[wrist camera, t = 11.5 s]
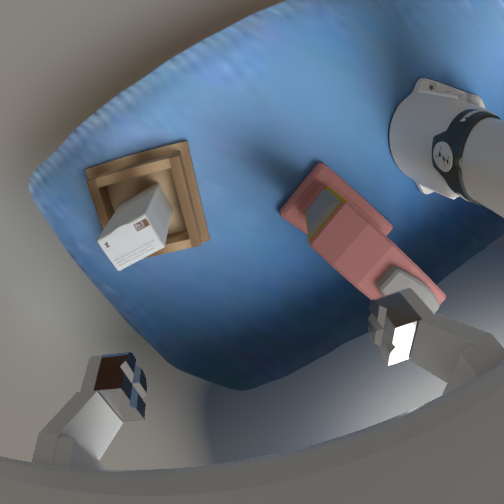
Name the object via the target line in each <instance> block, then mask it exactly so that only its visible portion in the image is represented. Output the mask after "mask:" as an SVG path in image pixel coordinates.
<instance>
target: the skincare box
mask: <svg viewBox="0 0 504 504" xmlns="http://www.w3.org/2000/svg"><path fill="white" fill-rule="evenodd" d="M172 210H173V208H172V206H171V205H170V203H169V201H168V199H167V197H166V196H165V194H164V192H163V190H162V188H161V186H160V184H159V183H156V184H154V185H153V186H151V187H149V188H147V189H145V190H143V191H141V192H140V193H138V194H136V195H134V196H132V197H131V198H129V199H127V200H125V201H123V202H122V203H121V204H120V205H119V207H118V208H117V210H116V211H115V213H114V214H113V216H112V217H111V219H110V220H109V222H108V224H107V225H106V227H105V228H104V230H103V231H102V233H101V234H100V236H99V237H98V239H97V242H98V243H99V245H100V246H101V248H102V249H103V251H104V252H105V254H106V255H107V256H108V258H109V259H110V261H111V262H112V263H113V265H114V266H115V267H116V269H117V270H118V271H120V270H122V269H124V268H126V267H128V266H129V265H131V264H133V263H135V262H137V261H139V260H141V259H143V258H145V257H147V256H148V255H150V254H152V253H154V252H156V251H158V250H160V249H162V248H164V247H165V243H166V238H167V233H168V229H169V224H170V219H171V215H172Z"/></svg>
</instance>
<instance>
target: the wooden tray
mask: <svg viewBox="0 0 504 504" xmlns="http://www.w3.org/2000/svg"><path fill="white" fill-rule="evenodd" d="M85 171H86V175H87V178H88V181H87V184H88V187H89V190H90V193H91V196H92V199H93V202H94V205H95V208H96V211H97V214H98V217H99V220H100V222H101V225H102V228H103V230H104V228H105V227H106V225H107V224H108V222H109V220H110V219H111V217H112V216H113V214H114V213H115V211H116V210H117V208H118V207H119V205H120V204H121V203H122V202H123V201H125V200H127V199H129V198H131V197H132V196H134V195H136V194H138V193H140V192H141V191H143V190H145V189H147V188H149V187H151V186H153V185H154V184H156V183H159V184H160V186H161V188H162V190H163V192H164V194H165V196H166V197H167V199H168V201H169V203H170V205H171V206H172V208H173V210H172V215H171V219H170V224H169V229H168V233H167V238H166V243H165V247H164V248H162V249H160V250H158V251H156V252H154V253H152V254H150V255H148V256H147V257H151V256H156V255H160V254H164V253H169V252H173V251H178V250H183V249H187V248H192V247H196V246H201V242H205V241H210V236H209V232H208V228H207V224H206V220H205V216H204V211H203V207H202V203H201V199H200V195H199V190H198V186H197V182H196V177H195V173H194V168H193V164H192V159H191V155H190V150H189V146H188V141H182V142H178V143H174V144H170V145H166V146H162V147H158V148H154V149H151V150H147V151H143V152H140V153H136V154H132V155H129V156H125V157H122V158H119V159H115V160H112V161H109V162H106V163H102V164H99V165H96V166H93V167H90V168H87V169H86V170H85ZM147 257H145V258H147Z"/></svg>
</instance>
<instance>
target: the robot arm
mask: <svg viewBox="0 0 504 504" xmlns="http://www.w3.org/2000/svg"><path fill="white" fill-rule="evenodd" d="M430 86H431V89H430ZM389 141H390V149H391V153H392V156H393V159H394V161H395V163H396V165H397V166H398V168H399V169H400V170H401V171H402V172H403V173H404V174H405V175H406V176H408V177H409V178H411V179H412V180H413V181H414V182H415V184H416V186H417V187H418V189H419V190H420V192H422V193H424V194H430V193H432V192H434V191H435V192H437V193H439V194H441V195H444V196H446V197H448V198H450V199H455V198H456V197H461V198H463V199H465V200H467V201H469V202H472V203H475V204H482V205H484V206H485V207H487V208H489V209H490V210H492V211H494V212H495V213H497V214H498V215H500V216H502V217H503V218H504V120H501V119H500V118H499V117H498V116H496V115H495V114H494V112H492V111H489V110H487V109H485V105H484V103H483V101H482V99H481V98H480V96H478V95H475V94H470V93H466V92H464V91H461V90H459V89H456V88H453V87H450V86H448V85H445V84H442V83H439V82H436V81H433V80H430V79H426V78H420V79H419V80H418V81H417V83H416V84H415V87H414V89H413V91H412V93H411V94H410V95H409V96H408V97H407V98H405V99H404V100H403V101H402V102H401V103H400V105H399V106H398V108H397V109H396V111H395V113H394V115H393V118H392V121H391V125H390V133H389ZM369 309H370V310H371V312H372V314H371V316H370V317H369V319H368V329H369V334H370V336H371V338H372V341H373V342H374V344H376V345H378V346H380V347H381V348H380V354H381V356H382V357H383V359H384V360H385V362H386V364H387V366H389V365H392V364H395V363H398V362H401V361H404V360H406V359H409V360H410V361H412V362H413V363H415V364H417V365H418V366H420V367H422V368H423V369H425V370H427V371H428V372H430V373H432V374H433V375H435V376H437V377H438V378H440V379H442V380H443V381H445V382H447V383H448V384H447V386H446V388H445V390H444V392H443V395H442V396H441V397H439V398H437V399H434V400H432V401H430V402H428V403H426V404H424V405H422V406H419V407H417V408H415V409H413V410H411V411H408V412H406V413H404V414H401V415H399V416H396V417H394V418H392V419H389V420H386V421H384V422H381V423H378V424H376V425H373V426H370V427H368V428H365V429H362V430H359V431H356V432H353V433H350V434H347V435H344V436H341V437H338V438H334V439H331V440H328V441H325V442H321V443H317V444H314V445H310V446H306V447H302V448H299V449H295V450H290V451H286V452H282V453H277V454H273V455H268V456H263V457H258V458H252V459H247V460H241V461H235V462H228V463H221V464H214V465H205V466H197V467H186V468H173V469H153V470H110V469H109V468H108V467H107V466H105V465H104V464H103V463H102V462H100V461H99V460H100V458H101V457H102V455H103V454H104V452H105V450H106V449H107V447H108V446H109V444H110V443H111V441H112V439H113V438H114V436H115V435H116V433H117V432H118V430H119V428H120V427H121V425H122V424H123V422H124V421H135V420H144V419H145V407H146V404H145V402H144V401H143V397H144V396H145V395H146V394H147V382H146V377H145V375H144V372H143V370H142V369H141V368H140V367H138V366H137V365H135V362H136V359H135V357H134V356H133V354H132V353H130V352H126V353H117V354H108V355H102V356H92V357H91V358H90V359H89V362H88V365H87V369H86V373H85V376H84V380H83V384H82V387H81V391H80V392H77V393H76V394H75V395H74V396H73V397H72V398H71V399H70V400H69V401H68V402H67V403H66V404H65V406H64V407H63V408H62V409H61V410H60V411H59V412H58V413H57V414H56V415H55V416H54V417H53V419H52V420H51V421H50V422H49V423H48V424H47V425H46V426H45V427H44V428H43V429H42V430H41V431H40V433H39V434H38V438H37V442H36V446H35V450H34V454H33V459H32V462H26V461H21V460H15V459H10V458H6V457H1V456H0V504H504V348H503V347H502V346H501V344H500V343H499V342H498V341H497V340H496V339H495V337H494V336H493V335H492V334H490V333H487V332H485V331H482V330H479V329H477V328H474V327H472V326H469V325H467V324H464V323H461V322H459V321H456V320H453V319H451V318H448V317H446V316H443V315H440V314H434V313H433V312H432V311H431V310H430V309H429V308H428V306H427V305H426V304H425V303H424V302H423V301H422V300H421V299H420V297H419V296H418V295H417V294H416V293H415V292H414V291H413V290H412V289H411V288H406V289H403V290H400V291H397V292H395V293H391V294H388V295H385V296H382V297H378V298H375V299H372V300H371V302H370V308H369Z"/></svg>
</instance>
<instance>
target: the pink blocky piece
mask: <svg viewBox="0 0 504 504" xmlns="http://www.w3.org/2000/svg"><path fill="white" fill-rule="evenodd" d="M279 211H280V215H281V217H283V218H284V219H286V220H287V221H288V222H290V223H291V224H293V225H294V226H296V227H297V228H298V229H300V230H301V231H303V232H304V233H306V234H307V235H308V240H309V245H310V246H311V247H312V248H313V249H314V250H315V251H316V252H317V253H318V254H319V255H321V256H322V257H323V258H324V259H325V260H326V261H327V262H328V263H329V264H330V265H331V266H332V267H334V268H335V269H336V270H337V271H338V272H339V273H340V274H342V275H343V276H344V277H345V278H346V279H347V280H348V281H349V282H351V283H352V284H353V285H354V286H355V287H356V288H357V289H359V290H360V291H361V292H362V293H364V294H365V295H366V296H367V297H368V298H370V299H371V300H372V299H375V298H378V297H382V296H385V295H388V294H391V293H395V292H397V291H400V290H403V289H406V288H411V289H412V290H413V291H414V292H415V293H416V294H417V295H418V296H419V297H420V299H421V300H422V301H423V302H424V303H425V304H426V305H427V306H428V308H429V309H430V310H431V311H432V312H433V313H435V312H436V311H437V310H438V309H439V305H440V304H441V303H442V302H443V301H444V299H445V298H446V295H445V294H444V293H443V292H442V291H441V290H440V289H439V288H438V287H437V286H436V285H435V284H434V282H433V281H432V280H431V279H430V278H429V277H428V276H427V275H426V274H425V273H424V272H423V271H422V270H421V269H420V268H419V267H418V266H417V265H416V264H415V263H414V262H413V261H412V260H411V259H410V258H409V257H408V256H407V255H405V254H404V253H403V252H402V251H401V250H400V249H399V248H398V247H397V246H396V245H395V244H394V243H393V242H392V241H391V240H390V239H389V238H388V237H386V236H387V235H388V233H389V232H390V231H391V230H392V225H391V224H390V223H389V222H388V221H387V220H386V219H385V218H384V217H383V216H382V215H381V214H380V213H379V212H378V211H377V210H376V209H375V208H373V207H372V206H371V205H370V204H369V203H368V202H367V201H366V200H365V199H364V198H363V197H362V196H361V195H359V194H358V193H357V192H356V191H355V190H354V189H353V188H352V187H351V186H349V185H348V184H347V183H346V182H345V181H344V180H343V179H342V178H340V177H339V176H338V175H337V174H336V173H335V172H333V171H332V170H331V169H330V168H329V167H328V166H326V165H325V164H324V163H322V162H320V163H317V164H316V165H315V167H314V168H313V169H312V170H311V172H310V173H309V174H308V175H307V177H306V178H305V179H304V180H303V182H302V183H301V184H300V185H299V187H298V188H297V189H296V190H295V192H294V193H293V194H292V195H291V197H290V198H289V199H288V200H287V202H286V203H285V204H284V205H283V207H282V208H281V209H280V210H279Z"/></svg>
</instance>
